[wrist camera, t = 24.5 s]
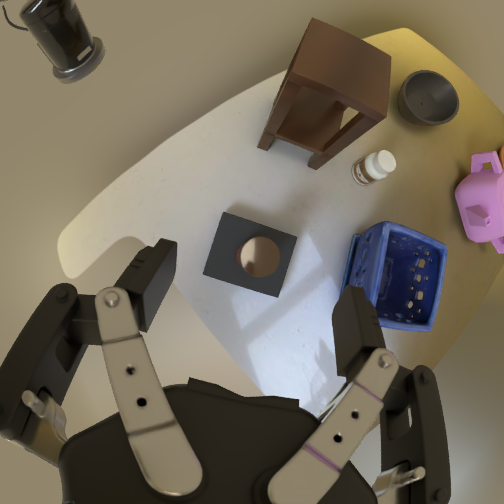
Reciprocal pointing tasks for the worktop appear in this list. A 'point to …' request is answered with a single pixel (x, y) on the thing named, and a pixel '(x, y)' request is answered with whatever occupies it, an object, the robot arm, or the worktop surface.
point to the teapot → (483, 201)
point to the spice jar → (258, 256)
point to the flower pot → (397, 274)
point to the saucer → (501, 157)
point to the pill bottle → (373, 167)
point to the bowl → (428, 99)
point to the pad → (226, 245)
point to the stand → (329, 93)
